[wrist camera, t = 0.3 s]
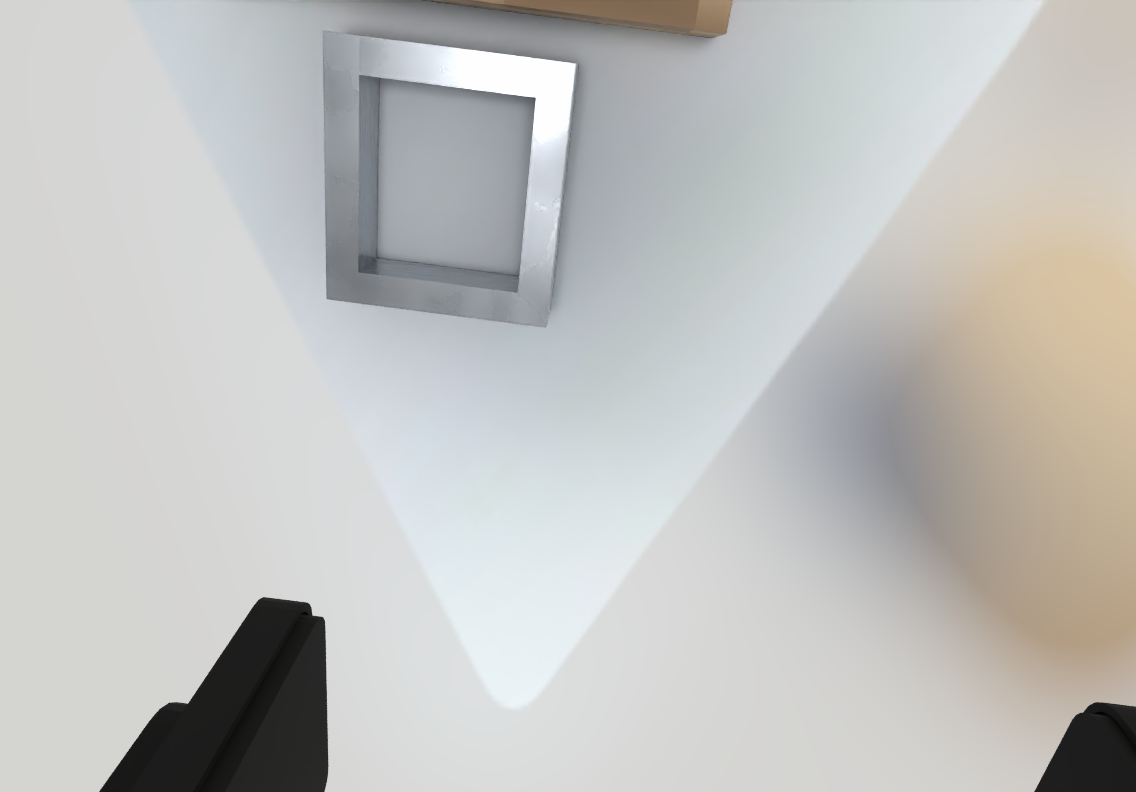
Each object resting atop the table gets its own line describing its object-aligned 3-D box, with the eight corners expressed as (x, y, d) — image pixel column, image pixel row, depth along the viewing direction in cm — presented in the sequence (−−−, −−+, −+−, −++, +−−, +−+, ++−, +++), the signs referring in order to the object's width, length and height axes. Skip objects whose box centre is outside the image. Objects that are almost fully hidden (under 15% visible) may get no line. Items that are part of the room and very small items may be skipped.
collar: (346, 34, 33) (323, 30, 30) (578, 64, 33) (575, 63, 30) (347, 282, 38) (326, 299, 35) (550, 309, 38) (546, 327, 35)
